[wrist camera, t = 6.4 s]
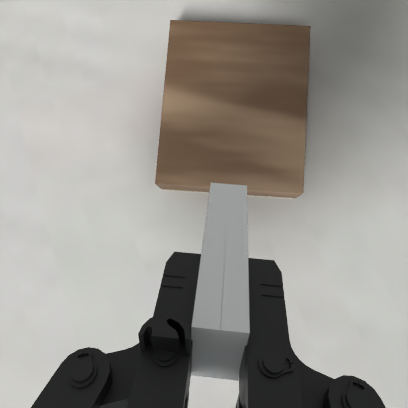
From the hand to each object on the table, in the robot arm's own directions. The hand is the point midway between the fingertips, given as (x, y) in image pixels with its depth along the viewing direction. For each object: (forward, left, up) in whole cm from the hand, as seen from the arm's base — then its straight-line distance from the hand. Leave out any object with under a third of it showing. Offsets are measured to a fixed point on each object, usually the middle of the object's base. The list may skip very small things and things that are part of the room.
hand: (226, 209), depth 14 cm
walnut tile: (-1, -2, -9) cm, 9 cm away
